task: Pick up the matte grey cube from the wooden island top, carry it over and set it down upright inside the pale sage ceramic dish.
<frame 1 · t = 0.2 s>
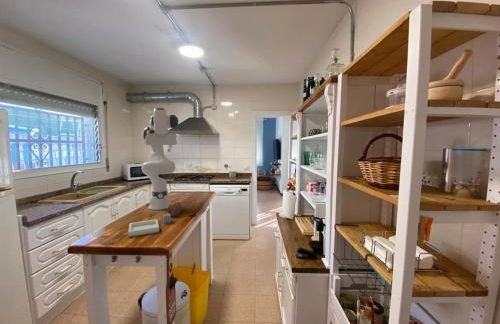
hand: (161, 151, 152), 47 cm above the table, tool pointing down, fingers open, 8 cm apart
dish: (144, 229, 134), on the table
matte grey cube: (167, 222, 148), on the table
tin: (174, 214, 165), on the table
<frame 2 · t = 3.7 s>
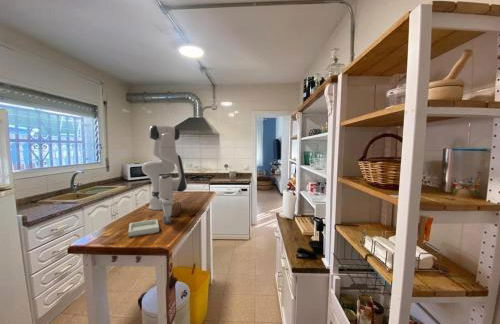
hand: (166, 219, 147), 2 cm above the table, tool pointing down, fingers closed on matte grey cube, 4 cm apart
matte grey cube: (167, 222, 148), on the table, touching gripper
everything else where it was.
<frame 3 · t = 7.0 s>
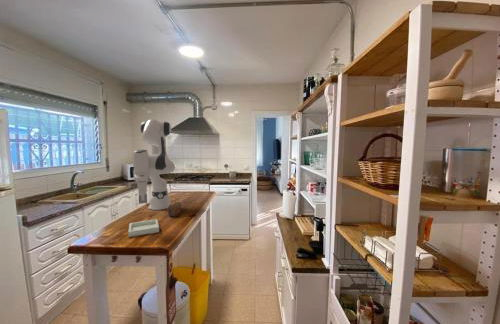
hand: (142, 199, 133), 19 cm above the table, tool pointing down, fingers closed on matte grey cube, 4 cm apart
matte grey cube: (143, 202, 133), point 17 cm above the table, touching gripper
everything else where it was.
when the fingers open (4 cm above the table, at t = 10.1 s): matte grey cube drops 1 cm, resting on dish.
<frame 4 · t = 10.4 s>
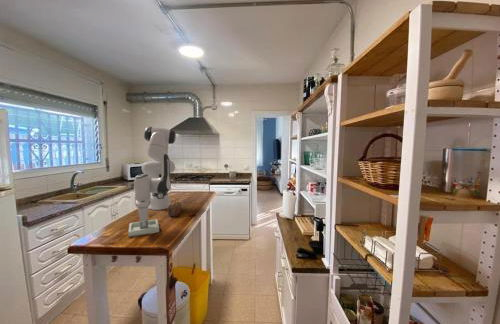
hand: (143, 223, 134), 4 cm above the table, tool pointing down, fingers open, 7 cm apart
matte grey cube: (144, 228, 134), point 1 cm above the table, touching dish
everything else where it was.
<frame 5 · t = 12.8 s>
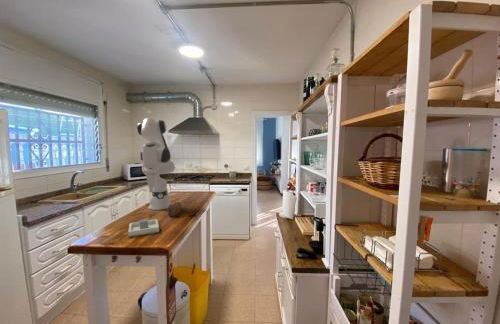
hand: (150, 190, 141), 23 cm above the table, tool pointing down, fingers open, 8 cm apart
nothing on the table moved.
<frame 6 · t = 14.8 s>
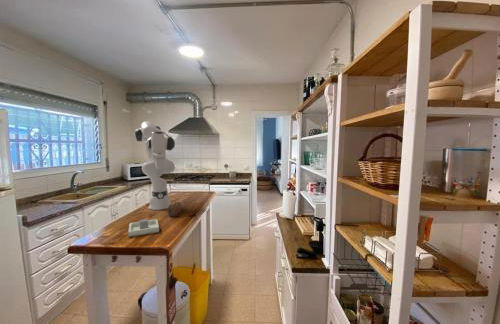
hand: (159, 175, 151), 31 cm above the table, tool pointing down, fingers open, 8 cm apart
nothing on the table moved.
at the end: matte grey cube inside the target area on the dish (0.1 cm from its centre), point 0.8 cm above the dish's base; matte grey cube tilted 0°; the gripper is holding nothing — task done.
